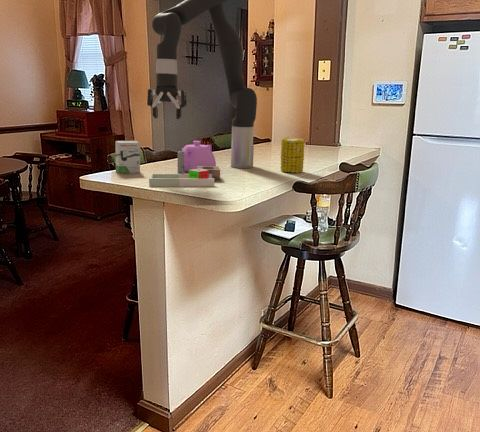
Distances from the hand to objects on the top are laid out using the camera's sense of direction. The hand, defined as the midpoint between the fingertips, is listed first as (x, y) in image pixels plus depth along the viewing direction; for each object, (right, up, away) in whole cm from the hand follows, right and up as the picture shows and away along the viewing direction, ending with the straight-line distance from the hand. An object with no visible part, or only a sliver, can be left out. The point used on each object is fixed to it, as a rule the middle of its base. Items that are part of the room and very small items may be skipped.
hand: (166, 118), depth 174 cm
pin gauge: (+5, -22, -1) cm, 23 cm away
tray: (+1, -25, -10) cm, 26 cm away
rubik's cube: (+12, -25, -8) cm, 29 cm away
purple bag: (+9, -17, +19) cm, 27 cm away
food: (+48, -18, +22) cm, 56 cm away
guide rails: (+11, -24, -8) cm, 28 cm away
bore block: (+15, -22, +1) cm, 27 cm away
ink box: (-17, -19, +10) cm, 27 cm away
